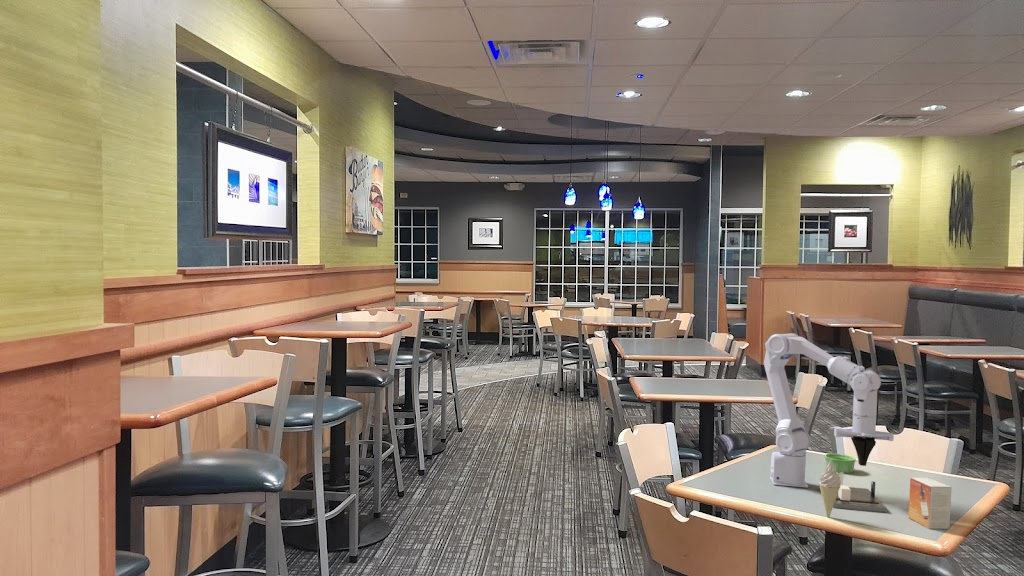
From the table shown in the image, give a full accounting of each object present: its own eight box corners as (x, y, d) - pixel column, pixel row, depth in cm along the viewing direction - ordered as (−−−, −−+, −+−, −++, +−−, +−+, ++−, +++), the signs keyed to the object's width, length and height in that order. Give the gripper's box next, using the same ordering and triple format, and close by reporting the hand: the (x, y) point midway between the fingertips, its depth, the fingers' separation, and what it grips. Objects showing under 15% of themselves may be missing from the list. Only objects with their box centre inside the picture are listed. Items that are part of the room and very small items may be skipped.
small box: (907, 518, 182) (909, 477, 182) (928, 518, 183) (930, 477, 183) (928, 529, 174) (930, 486, 174) (950, 529, 175) (952, 486, 175)
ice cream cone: (837, 521, 177) (840, 461, 177) (815, 517, 180) (818, 458, 180) (840, 516, 182) (843, 457, 181) (819, 512, 184) (821, 454, 184)
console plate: (832, 507, 189) (833, 486, 189) (818, 488, 207) (819, 468, 207) (886, 512, 186) (887, 490, 186) (867, 492, 204) (868, 473, 204)
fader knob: (841, 499, 191) (841, 488, 191) (837, 496, 194) (838, 485, 194) (850, 500, 190) (850, 489, 190) (847, 496, 194) (847, 485, 194)
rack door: (833, 491, 198) (834, 479, 198) (828, 490, 199) (829, 478, 199) (844, 484, 206) (844, 472, 206) (838, 483, 207) (839, 471, 207)
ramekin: (860, 474, 224) (860, 460, 224) (831, 473, 224) (832, 459, 224) (847, 467, 233) (847, 453, 233) (819, 466, 233) (820, 452, 233)
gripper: (839, 415, 193) (837, 466, 193) (897, 419, 190) (895, 470, 190) (833, 411, 200) (831, 459, 200) (889, 415, 197) (887, 464, 197)
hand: (862, 464), depth 196 cm, fingers closed
